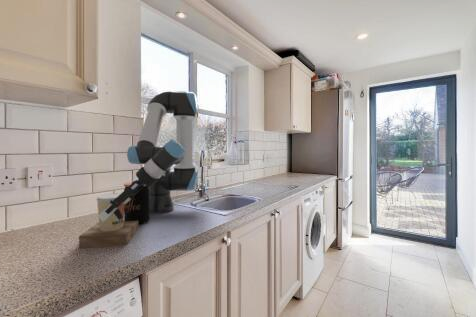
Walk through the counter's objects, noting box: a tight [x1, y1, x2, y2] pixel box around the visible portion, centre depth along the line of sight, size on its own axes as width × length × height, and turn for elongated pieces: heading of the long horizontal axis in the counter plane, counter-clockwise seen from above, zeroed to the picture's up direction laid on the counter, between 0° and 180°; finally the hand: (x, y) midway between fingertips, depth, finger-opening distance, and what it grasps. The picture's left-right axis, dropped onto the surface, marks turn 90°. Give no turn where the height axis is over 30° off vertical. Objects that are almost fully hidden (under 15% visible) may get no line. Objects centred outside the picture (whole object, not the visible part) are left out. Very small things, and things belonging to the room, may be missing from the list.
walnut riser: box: [78, 221, 139, 249], centre depth 86 cm, size 15×15×4 cm
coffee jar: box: [123, 181, 151, 226], centre depth 105 cm, size 11×11×18 cm
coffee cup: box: [96, 193, 125, 231], centre depth 85 cm, size 9×9×12 cm
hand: (109, 213), depth 85 cm, fingers open, 13 cm apart
